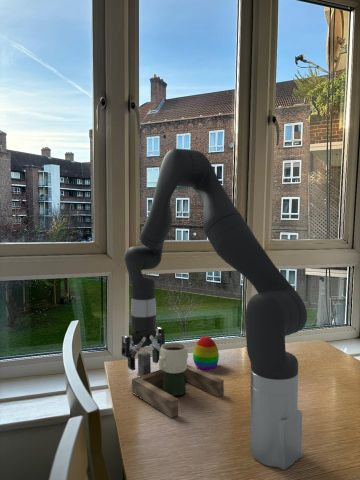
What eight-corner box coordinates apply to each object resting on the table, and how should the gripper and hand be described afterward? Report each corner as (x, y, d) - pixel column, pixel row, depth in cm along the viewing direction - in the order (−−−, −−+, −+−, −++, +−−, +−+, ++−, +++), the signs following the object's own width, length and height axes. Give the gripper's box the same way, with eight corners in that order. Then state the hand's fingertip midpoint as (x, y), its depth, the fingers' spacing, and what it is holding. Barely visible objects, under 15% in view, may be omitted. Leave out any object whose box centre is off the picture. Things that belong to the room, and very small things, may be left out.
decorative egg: (189, 370, 121) (189, 339, 120) (198, 361, 128) (198, 331, 127) (214, 374, 117) (214, 342, 117) (221, 364, 125) (221, 334, 124)
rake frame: (223, 394, 103) (223, 369, 103) (171, 417, 92) (171, 389, 91) (164, 367, 123) (164, 345, 122) (115, 383, 111) (115, 359, 111)
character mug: (178, 382, 112) (177, 338, 111) (196, 390, 107) (196, 344, 106) (150, 395, 103) (150, 348, 103) (169, 404, 99) (169, 354, 98)
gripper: (130, 319, 107) (131, 376, 108) (170, 311, 116) (170, 363, 117) (116, 314, 113) (117, 368, 114) (155, 306, 122) (155, 356, 123)
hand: (144, 365), depth 116 cm, fingers open, 8 cm apart
